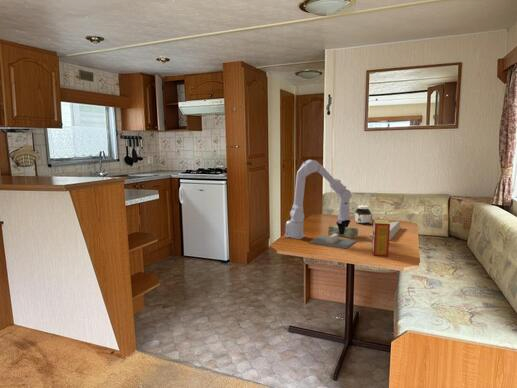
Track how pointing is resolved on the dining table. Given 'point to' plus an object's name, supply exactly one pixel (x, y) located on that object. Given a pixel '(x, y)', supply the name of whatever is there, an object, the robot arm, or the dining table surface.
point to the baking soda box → (380, 237)
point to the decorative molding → (392, 229)
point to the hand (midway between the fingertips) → (342, 233)
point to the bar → (347, 233)
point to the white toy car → (363, 215)
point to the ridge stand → (333, 241)
